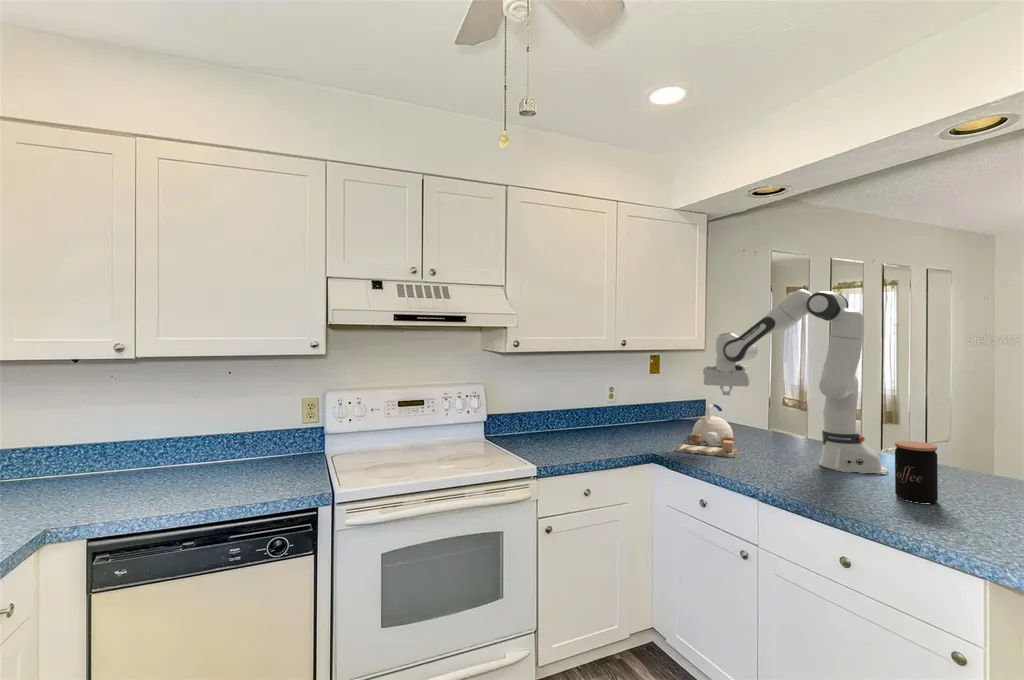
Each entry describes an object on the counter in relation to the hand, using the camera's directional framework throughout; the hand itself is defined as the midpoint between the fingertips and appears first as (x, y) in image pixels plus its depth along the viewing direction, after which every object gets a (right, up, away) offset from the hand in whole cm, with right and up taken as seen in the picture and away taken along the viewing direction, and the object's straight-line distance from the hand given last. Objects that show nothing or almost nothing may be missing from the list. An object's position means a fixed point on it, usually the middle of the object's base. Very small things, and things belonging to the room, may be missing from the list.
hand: (726, 395), depth 233 cm
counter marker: (-6, -24, -15) cm, 28 cm away
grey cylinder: (-5, -25, +5) cm, 26 cm away
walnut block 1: (-12, -25, +7) cm, 29 cm away
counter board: (-13, -25, -9) cm, 30 cm away
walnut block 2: (0, -25, 0) cm, 25 cm away
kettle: (+2, -25, +20) cm, 32 cm away
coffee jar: (+28, -26, -76) cm, 85 cm away
